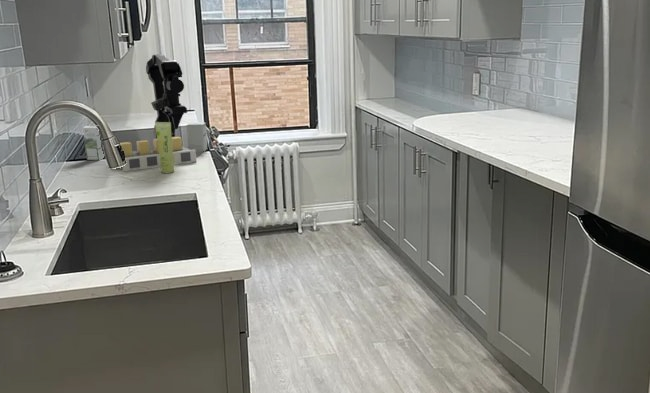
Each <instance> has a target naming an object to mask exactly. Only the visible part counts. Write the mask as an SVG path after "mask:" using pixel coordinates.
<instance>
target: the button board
mask: <svg viewBox="0 0 650 393" xmlns="http://www.w3.org/2000/svg"><path fill="white" fill-rule="evenodd" d="M149 150H150V154H143V155H139V154H138V152H137V150H132V152H133V156H126V158H129V157H137V156H146V155H154V154H159V153H155V152H154V148H149ZM187 150H190V149H188V147H186V146H183V145H182V150H176V151H173V152H178V151H187ZM120 170H123V167H121V169H120Z"/></svg>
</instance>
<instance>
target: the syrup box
mask: <svg viewBox="0 0 650 393" xmlns="http://www.w3.org/2000/svg"><path fill="white" fill-rule="evenodd" d="M96 126H97V125H85V126H83V127H82V132H83V141H84V147H85V155H86V161H101V160H104V159H105V158H104V156H105V153H104V154H103V151H102V147H101V140H100V134H99V131H98V129H97V127H96ZM103 158H104V159H103Z"/></svg>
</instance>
